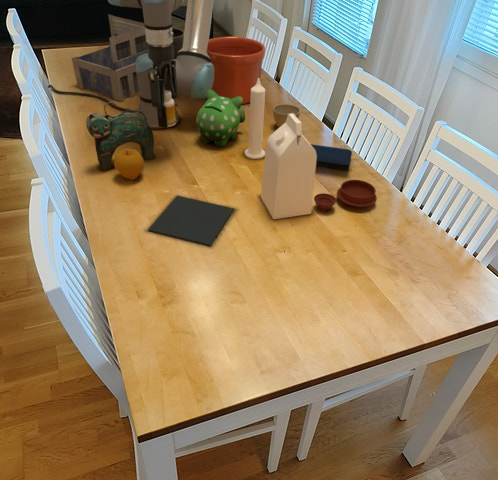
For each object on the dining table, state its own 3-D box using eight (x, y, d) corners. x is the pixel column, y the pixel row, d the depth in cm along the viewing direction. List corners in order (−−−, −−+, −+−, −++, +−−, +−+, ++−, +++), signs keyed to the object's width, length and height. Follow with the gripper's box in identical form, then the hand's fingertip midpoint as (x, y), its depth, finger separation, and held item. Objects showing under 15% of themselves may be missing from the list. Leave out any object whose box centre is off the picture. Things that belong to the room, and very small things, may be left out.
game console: (350, 158, 156) (356, 132, 150) (347, 177, 147) (352, 150, 140) (305, 151, 159) (309, 125, 152) (299, 169, 149) (302, 143, 143)
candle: (267, 151, 157) (273, 76, 140) (261, 160, 152) (266, 83, 135) (248, 147, 159) (251, 72, 141) (241, 156, 154) (243, 80, 137)
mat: (148, 231, 122) (147, 229, 122) (177, 196, 135) (177, 195, 134) (210, 246, 118) (210, 244, 118) (234, 209, 131) (234, 208, 131)
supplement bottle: (179, 122, 146) (176, 91, 140) (170, 128, 143) (167, 97, 136) (165, 118, 148) (161, 87, 141) (155, 125, 144) (152, 93, 138)
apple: (120, 168, 145) (115, 142, 139) (148, 170, 145) (145, 143, 139) (113, 183, 139) (108, 156, 132) (142, 185, 139) (138, 158, 132)
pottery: (382, 208, 134) (386, 195, 131) (323, 221, 128) (326, 208, 125) (361, 188, 142) (364, 175, 139) (304, 199, 136) (306, 187, 133)
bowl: (296, 135, 167) (298, 116, 162) (269, 132, 168) (271, 112, 163) (299, 124, 174) (302, 105, 169) (274, 120, 176) (275, 102, 171)
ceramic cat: (98, 173, 142) (85, 110, 129) (92, 164, 146) (78, 102, 133) (157, 159, 151) (151, 98, 137) (150, 151, 154) (142, 90, 141)
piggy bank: (249, 134, 166) (251, 92, 156) (224, 154, 155) (224, 110, 144) (216, 125, 171) (215, 83, 161) (189, 143, 159) (187, 100, 149)
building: (120, 101, 183) (110, 38, 167) (78, 87, 192) (64, 26, 176) (158, 84, 198) (152, 24, 182) (117, 72, 207) (108, 14, 191)
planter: (159, 62, 218) (156, 25, 207) (193, 67, 215) (191, 29, 204) (143, 74, 206) (139, 35, 195) (179, 79, 203) (176, 40, 192)
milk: (311, 213, 131) (324, 126, 113) (273, 219, 128) (281, 130, 110) (296, 191, 139) (307, 107, 121) (260, 196, 137) (265, 110, 119)
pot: (274, 98, 191) (278, 49, 178) (225, 111, 180) (225, 60, 167) (239, 80, 205) (240, 33, 192) (191, 91, 194) (189, 42, 181)
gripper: (156, 55, 122) (165, 137, 138) (185, 36, 134) (190, 113, 151) (131, 51, 123) (143, 132, 140) (162, 32, 136) (169, 109, 152)
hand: (167, 122), depth 145 cm, fingers closed on supplement bottle, 5 cm apart
